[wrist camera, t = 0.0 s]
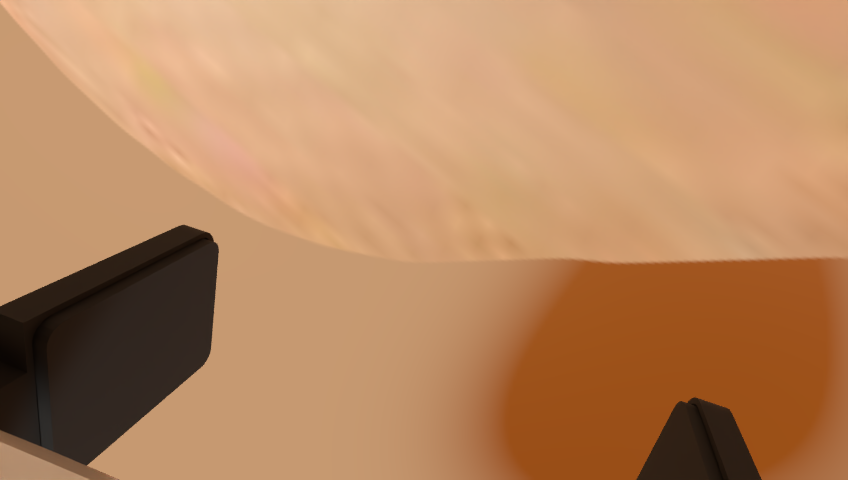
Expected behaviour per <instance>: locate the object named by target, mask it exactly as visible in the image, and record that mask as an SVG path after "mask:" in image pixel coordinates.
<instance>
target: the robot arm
mask: <svg viewBox="0 0 848 480" xmlns="http://www.w3.org/2000/svg"><path fill="white" fill-rule="evenodd" d="M218 253H219V249H218V245H217V244H216V243H215V242H214V240H213V238H212V236H211V234H210V233H207V232H204V231H201V230H198V229H195V228H192V227H189V226H186V225H181V226H178V227H176V228H174V229H171V230H169V231H167V232H165V233H162V234H160V235H158V236H156V237H153V238H151V239H149V240H147V241H145V242H143V243H140V244H138V245H136V246H133V247H131V248H129V249H127V250H125V251H122V252H120V253H118V254H116V255H113V256H111V257H109V258H107V259H105V260H102V261H100V262H98V263H96V264H93V265H91V266H89V267H87V268H85V269H83V270H80V271H78V272H76V273H73V274H71V275H69V276H67V277H64V278H62V279H60V280H58V281H56V282H53V283H51V284H49V285H47V286H44V287H42V288H40V289H38V290H35V291H33V292H31V293H29V294H27V295H24V296H22V297H20V298H18V299H15V300H13V301H11V302H9V303H7V304H4V305H2V306H0V480H119V479H116V478H114V477H112V476H109V475H107V474H105V473H102V472H100V471H97V470H95V469H93V468H90V467H88V466H87V465H88V464H89V463H90V462H91V461H93V460H94V459H95V458H96V457H97V456H98V455H100V454H101V453H102V452H103V451H104V450H105V449H107V448H108V447H109V446H110V445H111V444H112V443H114V442H115V441H116V440H117V439H118V438H119V437H120V436H122V435H123V434H124V433H125V432H126V431H127V430H129V429H130V428H131V427H132V426H133V425H134V424H135V423H137V422H138V421H139V420H140V419H141V418H142V417H144V416H145V415H146V414H147V413H148V412H150V411H151V410H152V409H153V408H154V407H155V406H157V405H158V404H159V403H160V402H161V401H162V400H163V399H165V398H166V397H167V396H168V395H169V394H171V393H172V392H173V391H174V390H175V389H176V388H177V387H179V386H180V385H181V384H182V383H183V382H184V381H186V380H187V379H188V378H189V377H190V376H191V375H193V374H194V373H195V372H196V371H197V370H198V369H200V368H201V367H202V366H203V365H204V363H205V362H206V360H207V358H208V357H209V354H210V350H211V341H212V328H213V315H214V302H215V290H216V278H217V277H216V276H217V265H218ZM637 480H762V479H761V477H760V475H759V473H758V471H757V468H756V466H755V464H754V462H753V459H752V457H751V455H750V453H749V450H748V448H747V446H746V444H745V442H744V439H743V437H742V435H741V433H740V430H739V428H738V426H737V424H736V421H735V419H734V417H733V415H732V413H731V411H730V410H729V409H727V408H725V407H722V406H719V405H716V404H713V403H710V402H707V401H704V400H701V399H698V398H692V399H691V400H690V401H688V403H685V402H682V401H680V402H678V403H677V405H676V406H675V408H674V409H673V411H672V413H671V415H670V417H669V419H668V421H667V423H666V425H665V426H664V428H663V430H662V432H661V434H660V436H659V438H658V440H657V442H656V443H655V445H654V447H653V449H652V451H651V453H650V455H649V457H648V459H647V461H646V462H645V464H644V466H643V468H642V470H641V472H640V474H639V476H638V478H637Z"/></svg>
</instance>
